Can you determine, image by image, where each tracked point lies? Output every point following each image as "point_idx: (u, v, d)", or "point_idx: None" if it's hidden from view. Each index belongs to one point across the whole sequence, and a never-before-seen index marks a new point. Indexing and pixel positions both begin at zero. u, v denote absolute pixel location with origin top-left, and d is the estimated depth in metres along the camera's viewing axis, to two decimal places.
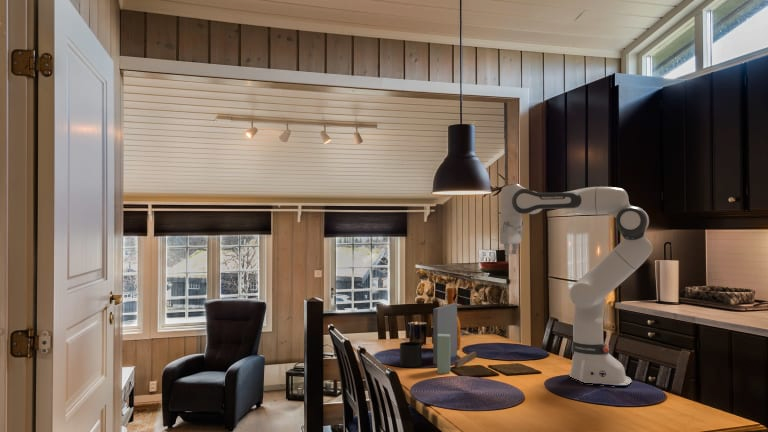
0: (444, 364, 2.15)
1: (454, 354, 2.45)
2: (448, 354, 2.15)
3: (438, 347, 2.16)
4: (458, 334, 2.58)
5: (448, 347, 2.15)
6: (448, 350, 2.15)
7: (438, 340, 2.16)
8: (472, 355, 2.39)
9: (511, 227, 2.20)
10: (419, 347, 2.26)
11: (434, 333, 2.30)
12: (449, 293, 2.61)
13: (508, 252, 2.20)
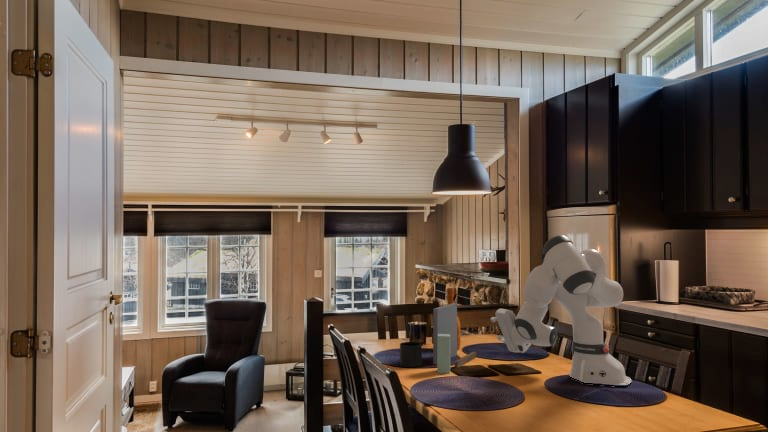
0: (444, 364, 2.15)
1: (454, 354, 2.45)
2: (448, 354, 2.15)
3: (438, 347, 2.16)
4: (458, 334, 2.58)
5: (448, 347, 2.15)
6: (448, 350, 2.15)
7: (438, 340, 2.16)
8: (472, 355, 2.39)
9: (510, 323, 2.23)
10: (419, 347, 2.26)
11: (434, 333, 2.30)
12: (449, 293, 2.61)
13: (492, 319, 2.32)
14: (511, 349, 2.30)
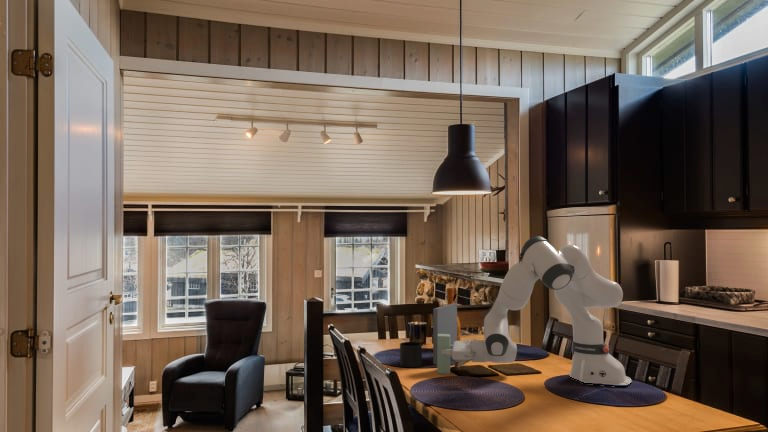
0: (444, 364, 2.15)
1: None
2: None
3: (438, 347, 2.16)
4: (458, 334, 2.58)
5: (448, 347, 2.15)
6: None
7: (438, 340, 2.16)
8: None
9: None
10: (419, 347, 2.26)
11: (434, 333, 2.30)
12: (449, 293, 2.61)
13: (443, 352, 2.14)
14: None
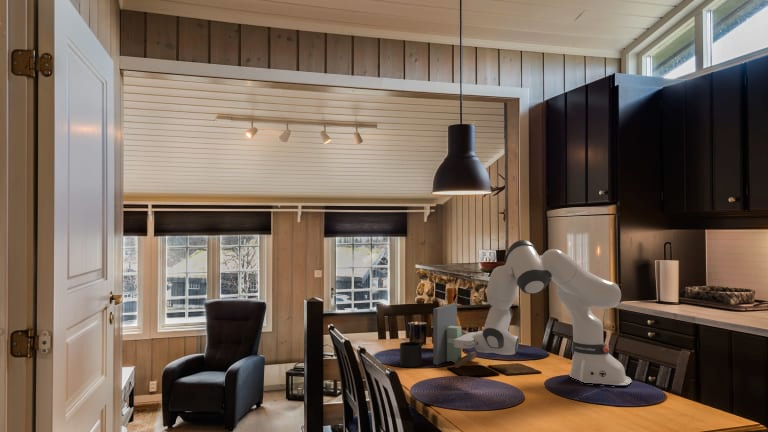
0: (453, 353, 2.34)
1: None
2: None
3: (447, 337, 2.36)
4: None
5: None
6: None
7: (447, 331, 2.36)
8: (472, 355, 2.39)
9: None
10: (419, 347, 2.26)
11: (434, 333, 2.30)
12: (449, 293, 2.61)
13: (449, 341, 2.32)
14: None
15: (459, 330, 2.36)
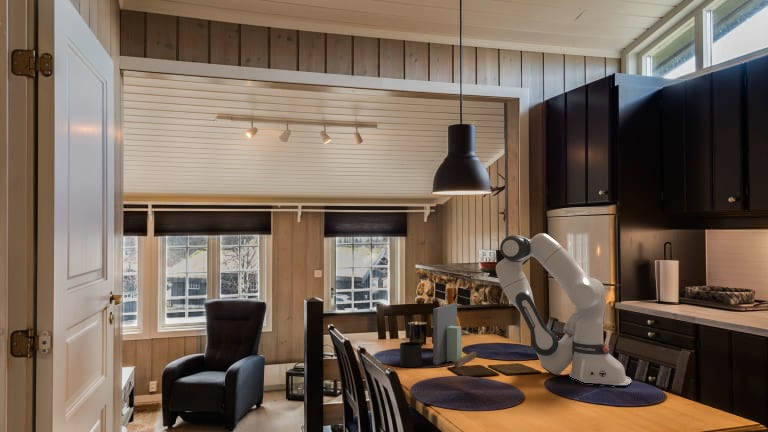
0: (453, 353, 2.34)
1: None
2: (456, 344, 2.34)
3: (447, 337, 2.36)
4: None
5: (456, 338, 2.34)
6: (456, 341, 2.34)
7: (447, 331, 2.36)
8: (472, 355, 2.39)
9: None
10: (419, 347, 2.26)
11: (434, 333, 2.30)
12: (449, 293, 2.61)
13: None
14: None
15: (459, 330, 2.36)
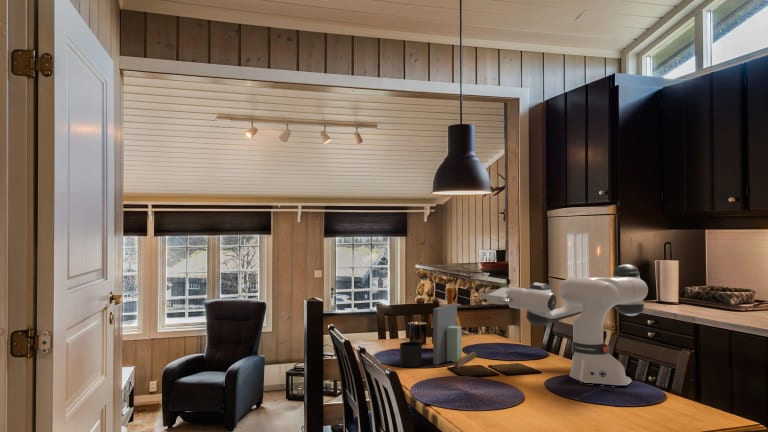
0: (453, 353, 2.34)
1: None
2: (456, 344, 2.34)
3: (447, 337, 2.36)
4: None
5: (456, 338, 2.34)
6: (456, 341, 2.34)
7: (447, 331, 2.36)
8: (472, 355, 2.39)
9: (506, 303, 2.21)
10: (419, 347, 2.26)
11: (434, 333, 2.30)
12: (449, 293, 2.61)
13: (481, 297, 2.25)
14: None
15: (459, 330, 2.36)
